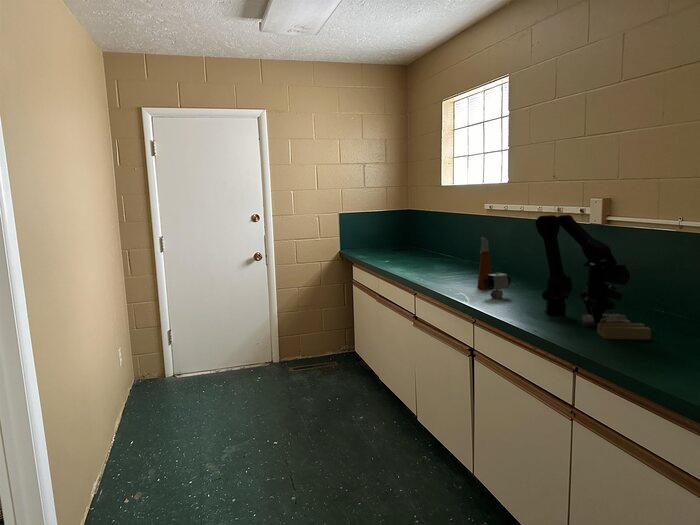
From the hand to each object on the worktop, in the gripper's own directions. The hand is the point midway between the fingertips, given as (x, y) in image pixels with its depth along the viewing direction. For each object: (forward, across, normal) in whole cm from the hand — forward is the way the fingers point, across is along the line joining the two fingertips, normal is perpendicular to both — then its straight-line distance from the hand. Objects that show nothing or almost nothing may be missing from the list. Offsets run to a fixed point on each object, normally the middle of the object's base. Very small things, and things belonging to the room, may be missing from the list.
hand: (594, 322), depth 173 cm
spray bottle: (+1, +63, +32) cm, 71 cm away
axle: (-1, 0, -3) cm, 3 cm away
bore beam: (+1, 0, -6) cm, 6 cm away
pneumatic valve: (+1, +43, +28) cm, 51 cm away
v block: (+1, -12, -5) cm, 13 cm away
